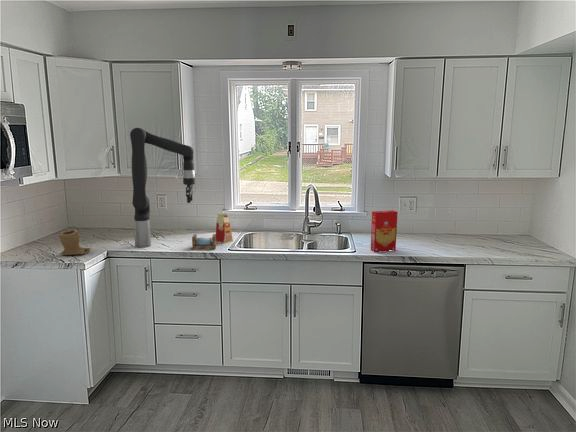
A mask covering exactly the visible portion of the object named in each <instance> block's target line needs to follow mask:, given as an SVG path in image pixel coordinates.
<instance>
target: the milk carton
mask: <svg viewBox="0 0 576 432" xmlns="http://www.w3.org/2000/svg"><path fill="white" fill-rule="evenodd" d="M229 217H230V216H228V215H227V213H226V212H225V213H221V214H220V213H219V214H217V218H216V223H215V234H216V244H218V243H219V244H223V245H225V244H229V243H233V242H234V239H233V233H232V227H231V222H230V218H229Z"/></svg>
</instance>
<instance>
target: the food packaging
mask: <svg viewBox="0 0 576 432" xmlns="http://www.w3.org/2000/svg"><path fill="white" fill-rule="evenodd" d="M397 227H398V211H396V210H374V211H373V210H372V211H371V229H370V230H371V231H370V232H371V233H370V234H371V235H370V251H371V250H372V251H371V252H373V251H374V252H373V253H380V252H379V251H387V252H390V251H389V250H396V251H397V249H396V248H397V230H398V229H397Z"/></svg>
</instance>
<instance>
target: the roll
mask: <svg viewBox="0 0 576 432" xmlns="http://www.w3.org/2000/svg"><path fill="white" fill-rule="evenodd" d="M197 246H212V237H197Z"/></svg>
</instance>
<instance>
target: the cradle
mask: <svg viewBox="0 0 576 432" xmlns="http://www.w3.org/2000/svg"><path fill="white" fill-rule="evenodd" d="M197 238H198V237H197V233H193V235H192V237H191V244H192V245H191V247H192V250H193V251H195V250H196V251H199V250H201V251H202V250H205V251H206V250H207V251H208V250H216V247H217V242H216V233H213V234H212V236H211V238H212V246H197Z"/></svg>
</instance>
